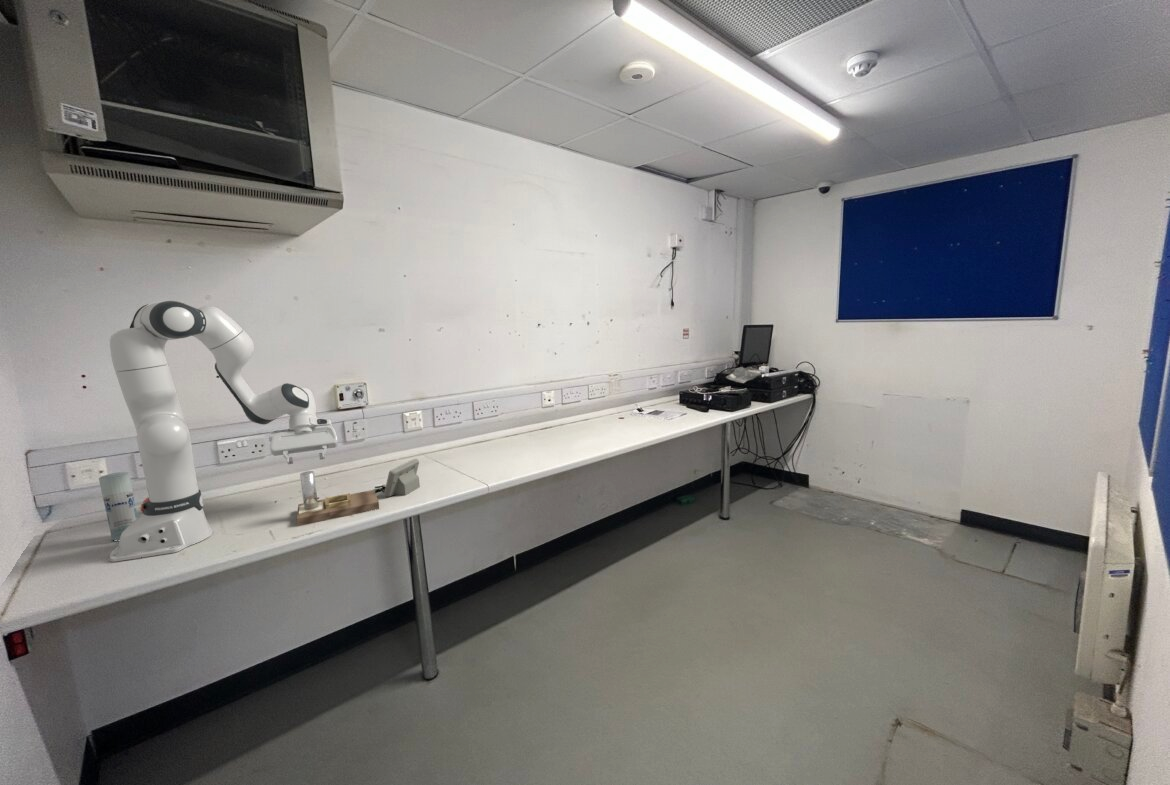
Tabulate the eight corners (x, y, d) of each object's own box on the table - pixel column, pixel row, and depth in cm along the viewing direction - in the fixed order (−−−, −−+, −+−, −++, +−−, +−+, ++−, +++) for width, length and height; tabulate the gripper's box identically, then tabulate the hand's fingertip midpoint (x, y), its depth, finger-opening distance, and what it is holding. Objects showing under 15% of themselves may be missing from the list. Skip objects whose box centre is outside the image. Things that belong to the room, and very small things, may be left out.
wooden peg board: (297, 526, 145) (296, 514, 144) (299, 511, 157) (297, 500, 156) (379, 508, 157) (378, 497, 156) (374, 496, 169) (373, 485, 168)
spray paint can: (112, 537, 141) (99, 475, 138) (141, 530, 145) (129, 470, 142) (111, 544, 136) (98, 480, 133) (141, 536, 141) (129, 474, 138)
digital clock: (412, 482, 183) (410, 456, 181) (428, 485, 179) (426, 459, 177) (378, 496, 168) (375, 469, 167) (395, 500, 164) (392, 472, 163)
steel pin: (304, 510, 150) (299, 475, 148) (304, 506, 153) (300, 472, 151) (318, 508, 152) (314, 473, 150) (318, 504, 155) (314, 470, 153)
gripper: (267, 426, 156) (268, 461, 149) (335, 419, 166) (338, 451, 159) (270, 436, 160) (271, 470, 153) (336, 428, 170) (339, 460, 163)
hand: (306, 460), depth 156 cm, fingers open, 8 cm apart
